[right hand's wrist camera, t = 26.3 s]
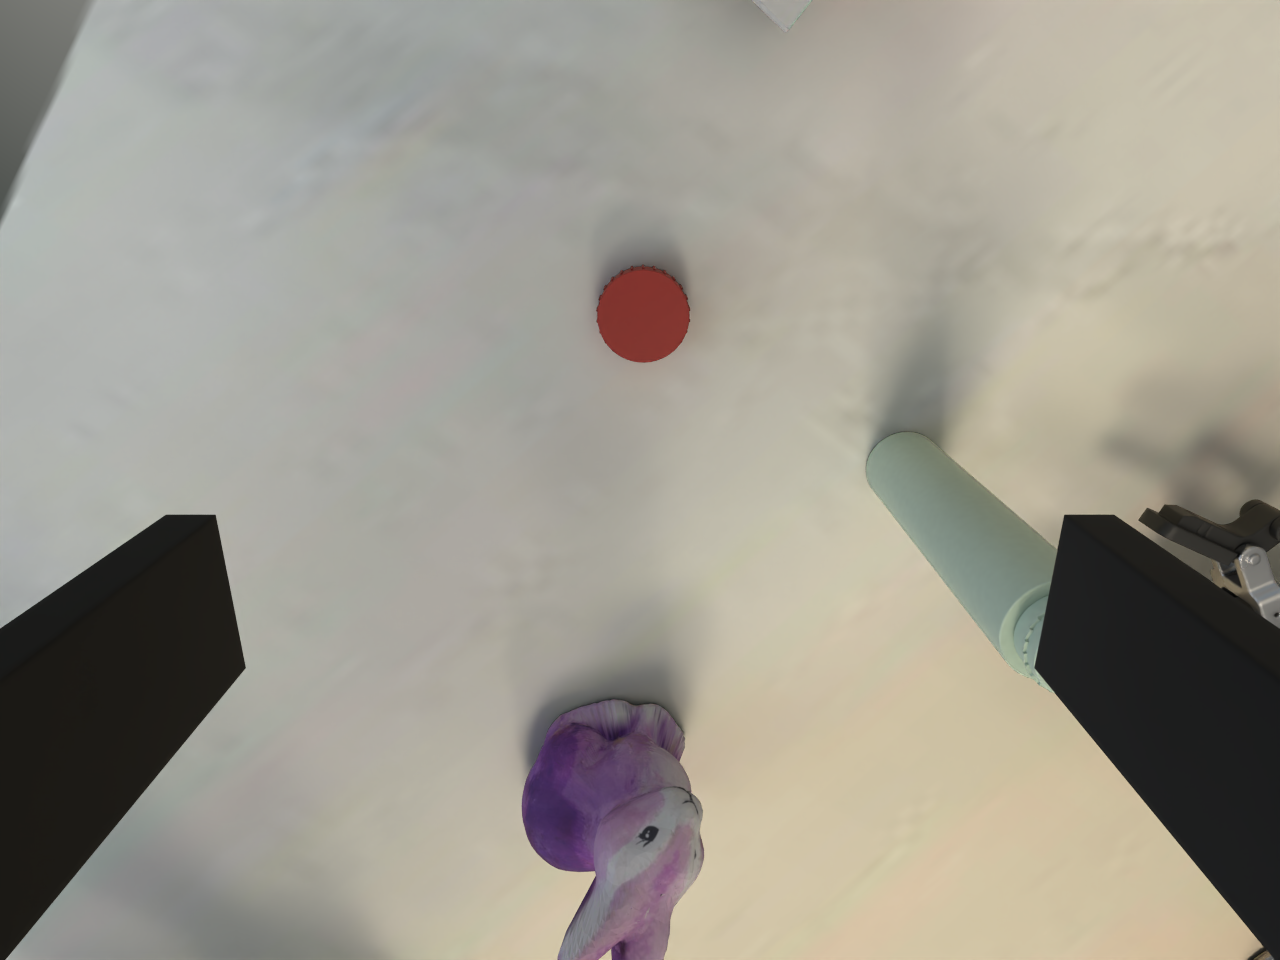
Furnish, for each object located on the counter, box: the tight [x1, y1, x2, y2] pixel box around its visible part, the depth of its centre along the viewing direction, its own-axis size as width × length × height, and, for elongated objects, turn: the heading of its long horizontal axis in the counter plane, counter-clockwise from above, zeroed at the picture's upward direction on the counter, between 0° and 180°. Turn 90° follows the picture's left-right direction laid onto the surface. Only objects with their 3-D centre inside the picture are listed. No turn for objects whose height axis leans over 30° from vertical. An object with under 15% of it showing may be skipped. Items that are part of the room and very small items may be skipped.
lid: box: [596, 265, 690, 362], centre depth 40 cm, size 5×5×2 cm
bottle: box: [866, 432, 1057, 693], centre depth 35 cm, size 4×4×19 cm
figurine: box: [522, 699, 704, 960], centre depth 42 cm, size 9×10×15 cm
